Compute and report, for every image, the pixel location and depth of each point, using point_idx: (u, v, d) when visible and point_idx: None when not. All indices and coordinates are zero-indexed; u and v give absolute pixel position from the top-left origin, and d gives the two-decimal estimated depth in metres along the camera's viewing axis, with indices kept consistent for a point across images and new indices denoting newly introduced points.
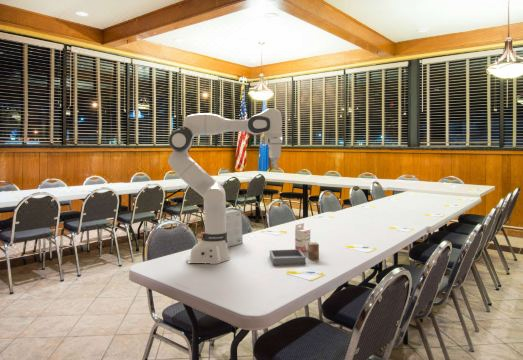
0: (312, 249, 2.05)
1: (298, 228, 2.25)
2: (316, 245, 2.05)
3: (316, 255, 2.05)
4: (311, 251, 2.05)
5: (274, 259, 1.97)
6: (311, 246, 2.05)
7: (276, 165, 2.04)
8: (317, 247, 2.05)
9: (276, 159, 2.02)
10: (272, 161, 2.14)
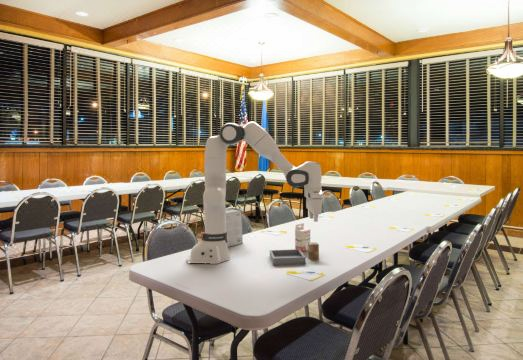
0: (312, 249, 2.05)
1: (298, 228, 2.25)
2: (316, 245, 2.05)
3: (316, 255, 2.05)
4: (311, 251, 2.05)
5: (274, 259, 1.97)
6: (311, 246, 2.05)
7: (316, 219, 2.01)
8: (317, 247, 2.05)
9: (316, 214, 1.99)
10: (310, 213, 2.11)
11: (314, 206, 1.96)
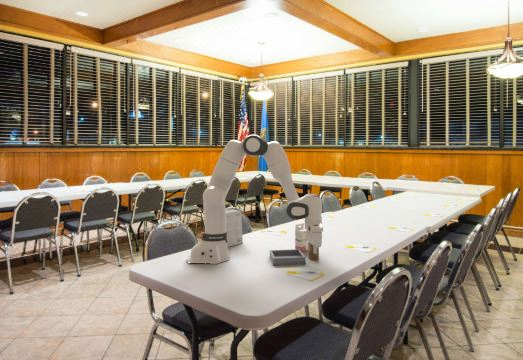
0: (312, 249, 2.05)
1: (298, 228, 2.25)
2: None
3: (316, 255, 2.05)
4: (311, 251, 2.05)
5: (274, 259, 1.97)
6: (311, 246, 2.05)
7: (315, 251, 2.04)
8: (317, 247, 2.05)
9: None
10: None
11: (314, 240, 1.97)
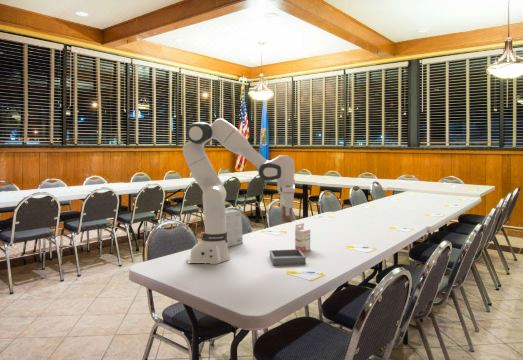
0: None
1: (298, 228, 2.25)
2: None
3: (289, 217, 2.02)
4: (284, 213, 2.01)
5: (274, 259, 1.97)
6: (284, 208, 2.01)
7: (288, 213, 2.00)
8: (290, 209, 2.01)
9: (288, 207, 1.99)
10: None
11: (286, 200, 1.93)
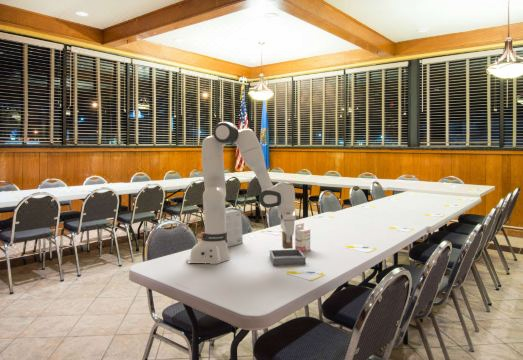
0: (285, 238, 2.02)
1: (298, 228, 2.25)
2: None
3: (289, 243, 2.03)
4: (284, 240, 2.02)
5: (274, 259, 1.97)
6: (284, 234, 2.02)
7: (289, 240, 2.01)
8: (291, 235, 2.02)
9: None
10: None
11: (286, 228, 1.94)
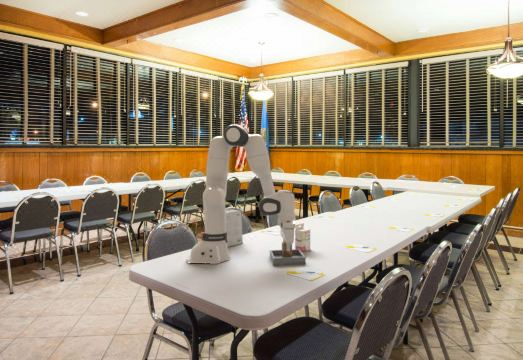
0: (285, 249, 2.03)
1: (298, 228, 2.25)
2: None
3: (289, 254, 2.03)
4: (284, 251, 2.03)
5: (274, 259, 1.97)
6: (284, 245, 2.02)
7: (289, 249, 2.00)
8: (290, 247, 2.03)
9: (289, 243, 1.98)
10: (284, 241, 2.10)
11: (286, 236, 1.94)
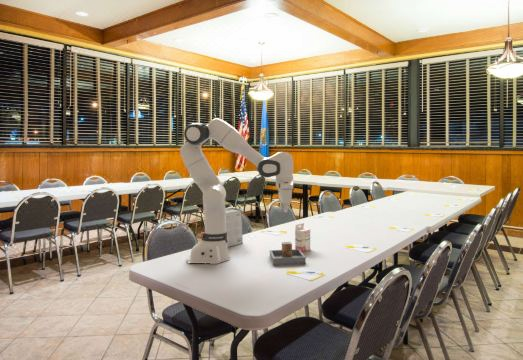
0: (285, 249, 2.03)
1: (298, 228, 2.25)
2: (289, 244, 2.03)
3: (289, 254, 2.03)
4: (284, 251, 2.03)
5: (274, 259, 1.97)
6: (284, 245, 2.02)
7: (286, 210, 2.00)
8: (290, 247, 2.03)
9: (286, 204, 1.99)
10: (282, 204, 2.11)
11: (284, 196, 1.95)
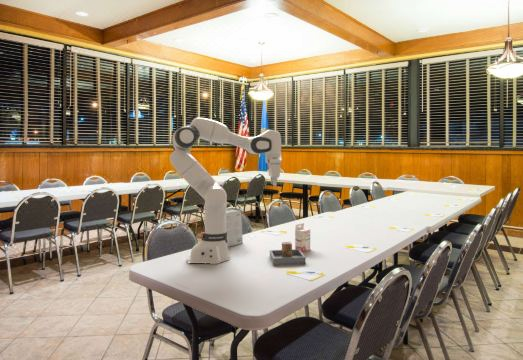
0: (285, 249, 2.03)
1: (298, 228, 2.25)
2: (289, 244, 2.03)
3: (289, 254, 2.03)
4: (284, 251, 2.03)
5: (274, 259, 1.97)
6: (284, 245, 2.02)
7: (275, 184, 2.15)
8: (290, 247, 2.03)
9: (275, 178, 2.13)
10: (272, 179, 2.25)
11: (272, 170, 2.10)
